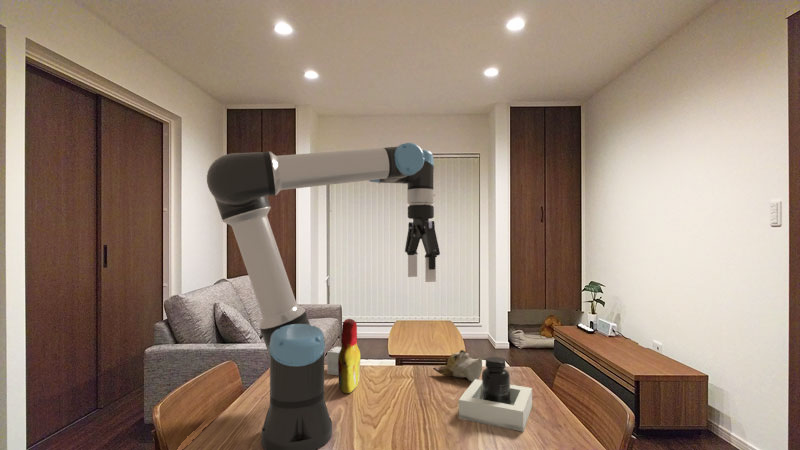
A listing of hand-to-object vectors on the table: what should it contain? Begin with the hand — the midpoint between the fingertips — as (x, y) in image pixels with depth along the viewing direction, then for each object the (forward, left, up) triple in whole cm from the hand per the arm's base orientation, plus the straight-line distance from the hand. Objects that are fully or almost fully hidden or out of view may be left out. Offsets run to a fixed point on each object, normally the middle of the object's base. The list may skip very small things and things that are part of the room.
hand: (421, 279), depth 112 cm
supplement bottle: (+22, -4, -31) cm, 38 cm away
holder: (+22, -4, -32) cm, 39 cm away
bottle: (-20, -7, -32) cm, 38 cm away
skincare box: (-30, +3, -32) cm, 44 cm away
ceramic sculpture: (+7, +16, -32) cm, 36 cm away
